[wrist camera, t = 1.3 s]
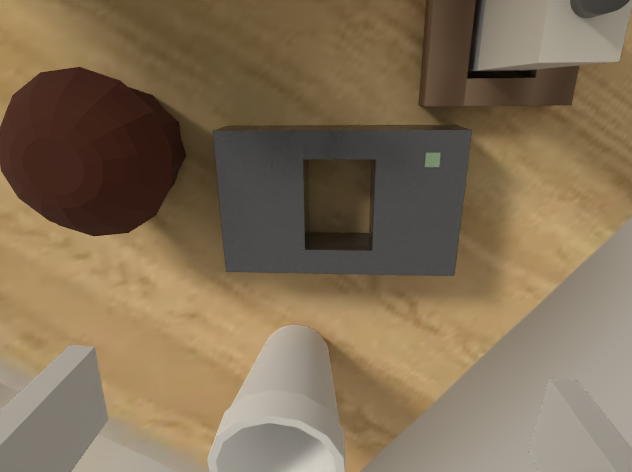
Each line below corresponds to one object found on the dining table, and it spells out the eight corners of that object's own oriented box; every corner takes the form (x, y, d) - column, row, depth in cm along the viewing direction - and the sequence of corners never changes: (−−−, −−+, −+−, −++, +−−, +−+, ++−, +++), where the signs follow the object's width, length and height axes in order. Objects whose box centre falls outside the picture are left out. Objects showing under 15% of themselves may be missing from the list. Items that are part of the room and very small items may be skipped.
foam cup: (328, 300, 37) (322, 403, 25) (356, 379, 40) (362, 506, 28) (234, 324, 39) (185, 432, 27) (267, 398, 42) (236, 527, 29)
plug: (464, 72, 30) (554, 60, 17) (473, -12, 28) (581, -93, 15) (514, 71, 30) (642, 59, 17) (527, -13, 28) (680, -97, 15)
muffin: (88, 215, 36) (-3, 260, 26) (44, 83, 32) (-78, 81, 23) (217, 202, 35) (170, 244, 25) (187, 63, 31) (121, 52, 22)
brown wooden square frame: (418, 104, 31) (424, 106, 29) (430, -50, 27) (438, -63, 25) (553, 103, 30) (571, 105, 28) (582, -55, 27) (605, -68, 24)
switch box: (238, 252, 36) (225, 272, 32) (227, 125, 32) (211, 131, 28) (442, 255, 35) (454, 277, 31) (456, 124, 31) (472, 130, 27)
